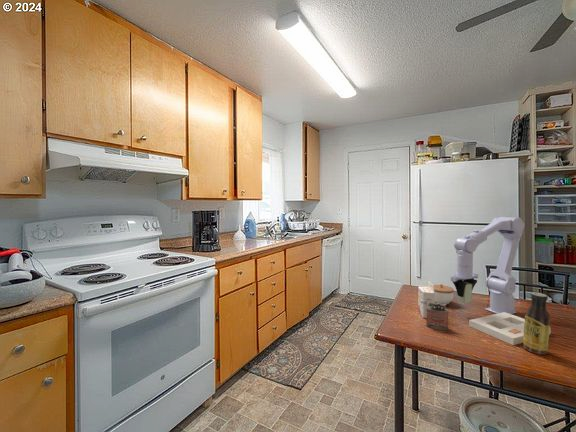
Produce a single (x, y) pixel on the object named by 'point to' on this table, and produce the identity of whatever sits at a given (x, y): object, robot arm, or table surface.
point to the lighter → (437, 316)
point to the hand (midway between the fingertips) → (464, 295)
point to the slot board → (501, 327)
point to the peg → (466, 294)
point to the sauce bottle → (537, 325)
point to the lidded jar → (443, 294)
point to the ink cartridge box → (425, 298)
